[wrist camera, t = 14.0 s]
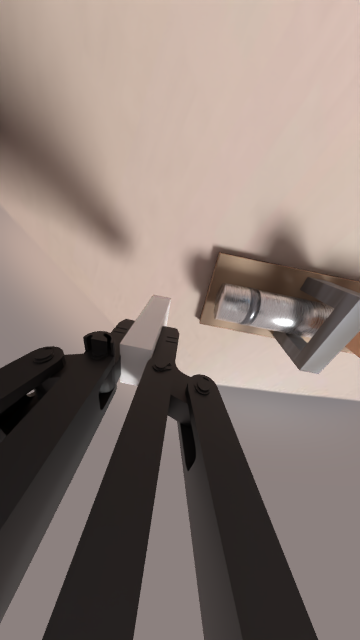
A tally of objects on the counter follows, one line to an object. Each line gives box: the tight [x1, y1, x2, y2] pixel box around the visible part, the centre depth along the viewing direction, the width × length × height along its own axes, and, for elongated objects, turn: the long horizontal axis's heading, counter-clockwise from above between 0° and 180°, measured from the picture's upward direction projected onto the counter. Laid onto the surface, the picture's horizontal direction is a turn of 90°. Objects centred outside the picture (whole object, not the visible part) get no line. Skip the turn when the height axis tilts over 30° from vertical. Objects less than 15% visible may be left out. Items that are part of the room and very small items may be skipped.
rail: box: [200, 252, 360, 374], centre depth 17 cm, size 26×9×7 cm, turn 80°
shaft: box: [214, 283, 334, 338], centre depth 17 cm, size 13×4×4 cm, turn 80°
